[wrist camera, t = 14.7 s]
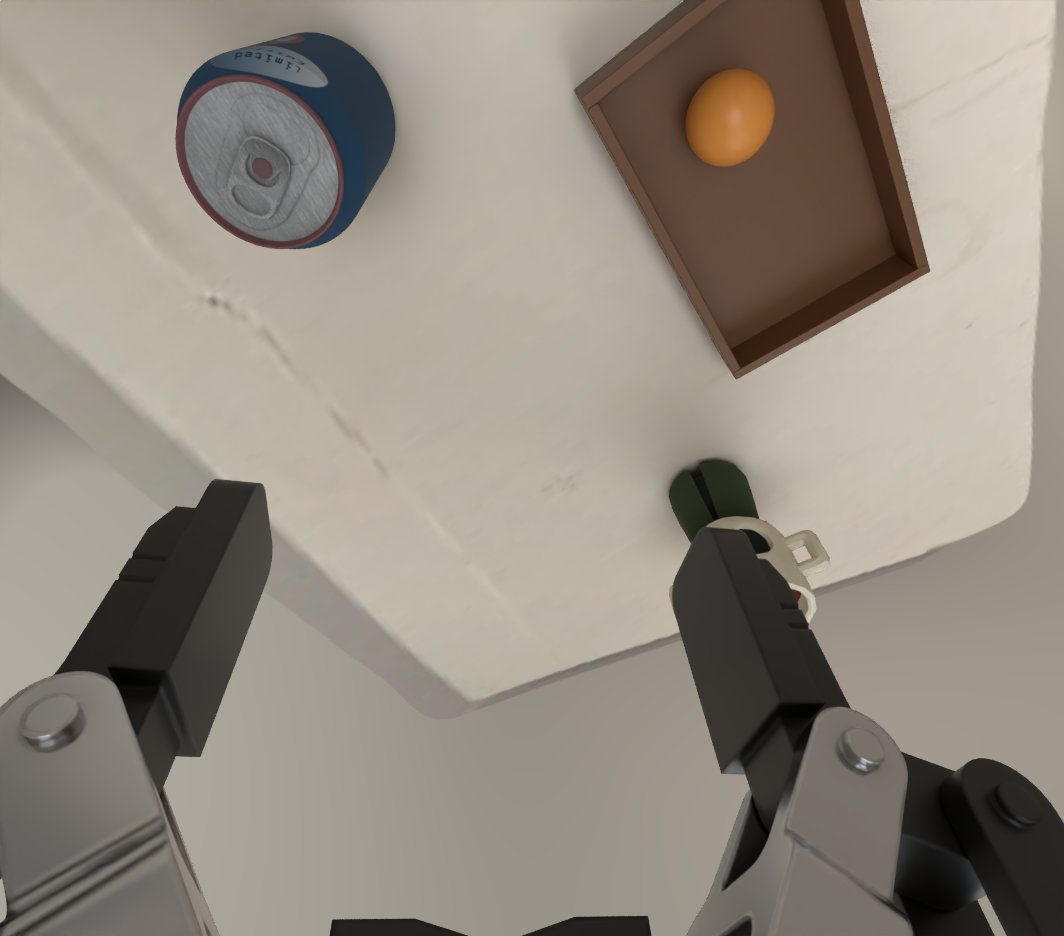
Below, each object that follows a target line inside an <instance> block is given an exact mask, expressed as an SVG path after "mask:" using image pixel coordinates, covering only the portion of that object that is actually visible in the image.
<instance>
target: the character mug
mask: <svg viewBox="0 0 1064 936" xmlns="http://www.w3.org/2000/svg"><path fill="white" fill-rule="evenodd" d="M699 467H700V469H701V472H702V475H703V476H700V477H697V478H696V479H695V480H693V479H692V477H691V475H690V473H689V470H687V471H685V472H684V473H683V474H682V475H681V476H680V477H679V478H678V479H677V480H676V481H675V482H674V483H673V486H672V489H671V492H670V495H669V498H670V502H671V505H672V509H673V511H674V513H675V515H676V517H677V519H678V521H679V523H680V525H681V527H682V529H683V530H684V532H685V534H686V535H687V537H688V539H689V541H690V542H691V544H692V542H693V540H694V538H695V536H696V534H697V532H698V531H699V530H700V529H701V528H702V527H715V528H725V529H736V530H742V531H744V532H745V533H746V534H747V536H748V538H749V540H750V542H751V544H752V546H753V548H754V551H755V553H756V555H757V557H758V558H759V559H767V560H768V561H769V562H770V563H771V564H772V565H773V566H774V567H775V568H776V570H777V571H778V572H779V573H780V574H781V575H782V576H783V577H784V578H785V579H786V580H787V582H788V584H789V586H790V588H791V590H792V592H793V594H794V596H795V598H796V600H797V602H798V604H799V610H802V612H803V614H804V616H805V618H806V620H807V622H808V623H809V622H810V620H811V618H812V616H813V615H814V613H815V611H816V603H815V596H814V594H813V591H812V589H811V587H810V585H809V583H808V581H807V580H806V578H805V577H807V576H810V575H812V574H815V573H818V572H820V571H823V570H824V569H826V568H827V567H828V566H829V565H830V558H829V556H828V554H827V552H826V551H825V549H824V547H823V546H822V544H821V542H820V541H819V539H818V537H817V536H816V534H814V533H813V532H812V531H810V530H804V531H800V532H798V533H795V534H793V535H791V536H788V537H786V538H784V536H783V535H782V534H781V533H780V532H779V531H778V530H777V529H776V528H775V527H774V526H772V525H771V524H769V523H768V522H767V521H763V520H760V519H759V516H758V513H757V509H756V506H755V502H754V499H753V495H752V492H751V489H750V486H749V483H748V481H747V478H746V476H745V475H744V474H743V473H742V472H741V471H740V470H739V469H738V468H737V467H736V466H735V465H732V464H728V463H725V462H721V461H717V462H707V463H702V464H700V465H699ZM690 546H691V545H690ZM802 546H805V547H806V548H807V550H808V552H809V554H810V556H811V557H812V558H811V559H808V560H806V561H803V562H801V563H797V561H796V559H795V557H794V555H793V553H792V551H793V550H795V549H797V548H800V547H802ZM672 589H673V585H672V586H671V587H670V588H669V597H670V600H671V604H672V607H673V603H672ZM673 610H674V609H673ZM674 614H675V613H674ZM675 617H676V616H675Z"/></svg>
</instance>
